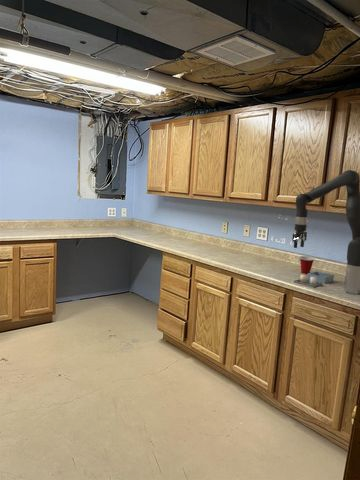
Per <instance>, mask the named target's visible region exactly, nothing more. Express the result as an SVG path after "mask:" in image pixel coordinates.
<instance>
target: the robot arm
mask: <svg viewBox="0 0 360 480" xmlns="http://www.w3.org/2000/svg"><path fill="white" fill-rule="evenodd" d="M342 187H346V188H345V189H346V196H347V197H346V201H345V202H346V203H345V215H346V219H347V220H346V221H347V222H348V226H349V227H350V230H351V237H352V240H351V241H349V243H348V245H347V251H346V261H347V263H346V269H345V277H344V285H343V291H344V292H346V293H348V294H354V295H360V174H359V173H358V172H357V171H356V170H353V169H352V170H350V169H348V170H347V169H346V170H345V171H343V172H341V173H340V174H338V176H336V177H334V178H332V179H331V180H329V181H327V182H325V183H322V184H320V185H318V186H316V187H313V188H312V189H310V191H308V192H305V193H299V194H297V196H296V198H295V208H296V214H295V220H294V231H295V232H292V238H291V239H292V240H291V241H292V242H293V248H294V249H298V245H299V244H298V243H299V241H300V248H304V246H305V242H306V241H307V236H308V235H307V234H308V233H307V224H308V208H307V205H308V204H310V203H312V202H314V201H316V200H317V199H320V198H322V197H325V196H326V195H328V194H330V193H331V192H332V191H334V190H337V189H339V188H342Z"/></svg>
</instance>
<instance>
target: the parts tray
mask: <svg viewBox="0 0 360 480" xmlns="http://www.w3.org/2000/svg"><path fill="white" fill-rule="evenodd" d="M293 283H295V284H298V285H302V286H306V287H310V288H313V289H314V288H316V287H320V286H323V284H324V283H320V282H316V285H310V280H308V279H307V280H306V283H302V282H300V278H298V279H296V280H295V279H294V280H293Z"/></svg>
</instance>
